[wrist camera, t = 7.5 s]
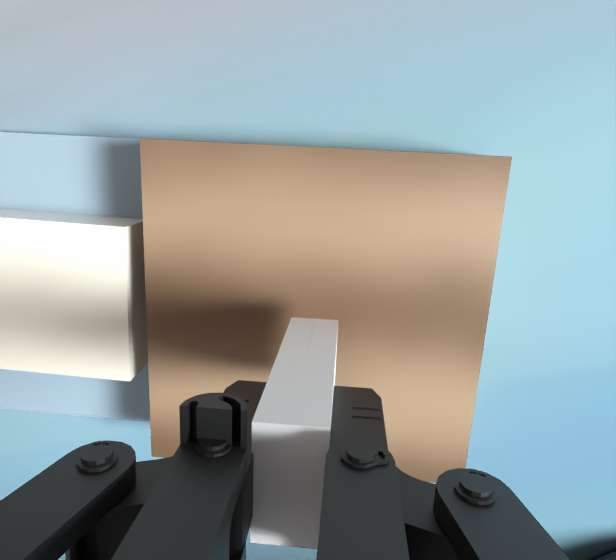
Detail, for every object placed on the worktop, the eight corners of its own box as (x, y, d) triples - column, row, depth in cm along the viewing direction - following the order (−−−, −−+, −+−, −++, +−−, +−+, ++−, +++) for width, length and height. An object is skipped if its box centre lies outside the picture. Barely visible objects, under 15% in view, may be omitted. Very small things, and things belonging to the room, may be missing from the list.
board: (447, 440, 21) (462, 485, 18) (177, 416, 22) (151, 456, 19) (486, 156, 18) (511, 156, 15) (171, 140, 19) (139, 138, 16)
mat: (177, 416, 22) (172, 423, 22) (-54, 396, 23) (-65, 403, 22) (171, 140, 19) (165, 139, 19) (-96, 127, 20) (-109, 126, 19)
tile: (150, 360, 21) (129, 381, 19) (14, 347, 21) (-19, 366, 19) (147, 219, 19) (125, 227, 17) (1, 208, 20) (-36, 214, 18)
